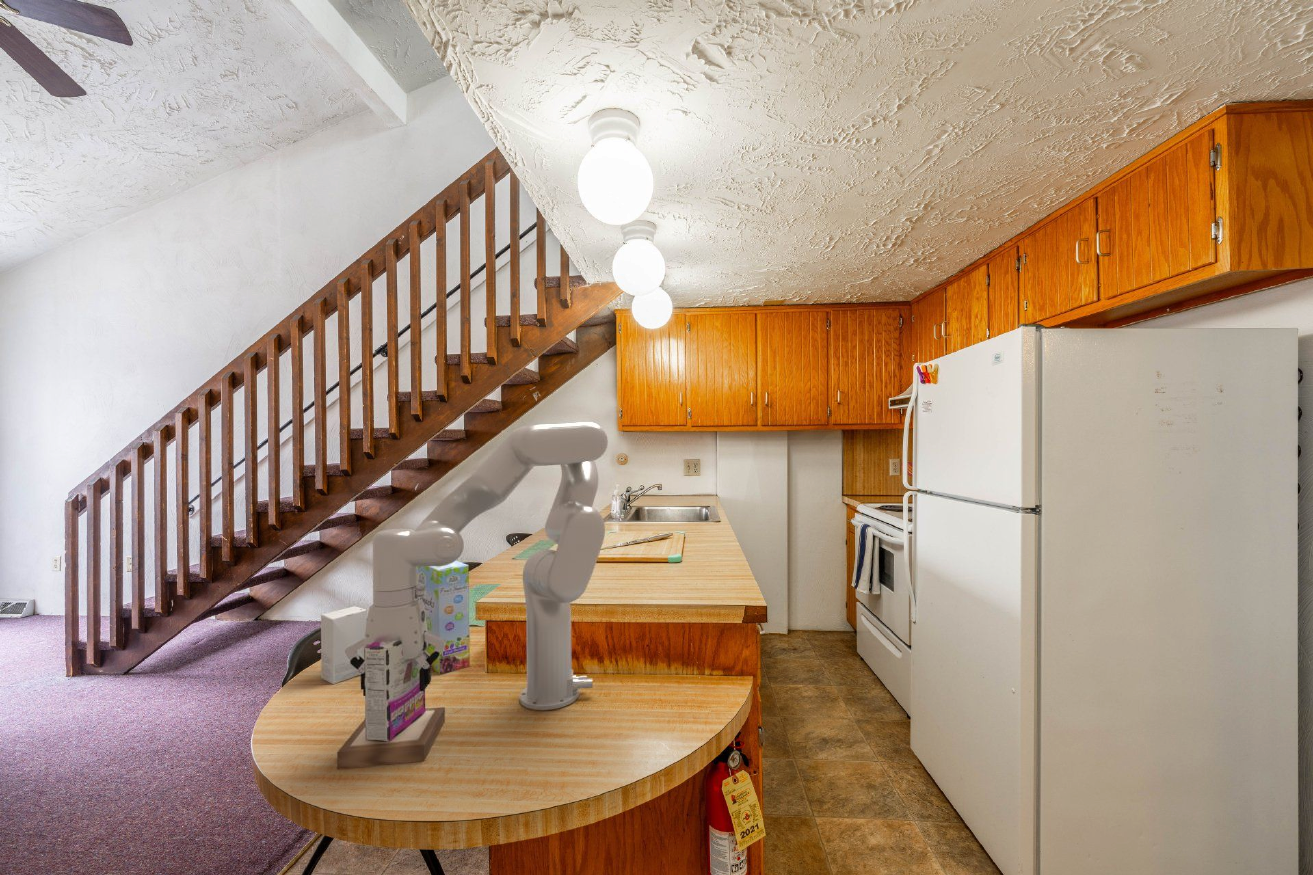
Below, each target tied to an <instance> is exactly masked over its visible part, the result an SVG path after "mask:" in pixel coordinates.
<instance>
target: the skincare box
mask: <svg viewBox="0 0 1313 875" xmlns="http://www.w3.org/2000/svg"><path fill="white" fill-rule="evenodd" d="M367 616H368V610H367V609H365V608H362V607H359V606H355V605H354V606H350V607H346V608H341V609H338V610H334V611H330V612H326V613H322V614H320V641H321V643H320V647H321V648H320V649H321V650H320V651H321V652H320V655H321V656H320V658H321V660H320V661H321V664H320V666H321V673H320V676H321V679H322V680H324V681H326V682H328V683H330V684H331V685H335V684H338V683H341V682H344V681H346V680H349V679H353V678H356V677H358V676H361V674H359V673H358V670H357V669H356V668H355V667H354V666H353V665H351V664H350V660H349V659H348V657H347V655H346V654H345V649H346V648H348V647H349V646H351V645H352V644H354V643H356V642H358V641H359V640H361V639H363V638H365V629H366V622H367ZM357 653H358V655H359V656H360V657H362V658H363V659H364V660H365V657H364V646H363V647H362V648H360V649H358V650H357Z"/></svg>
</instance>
